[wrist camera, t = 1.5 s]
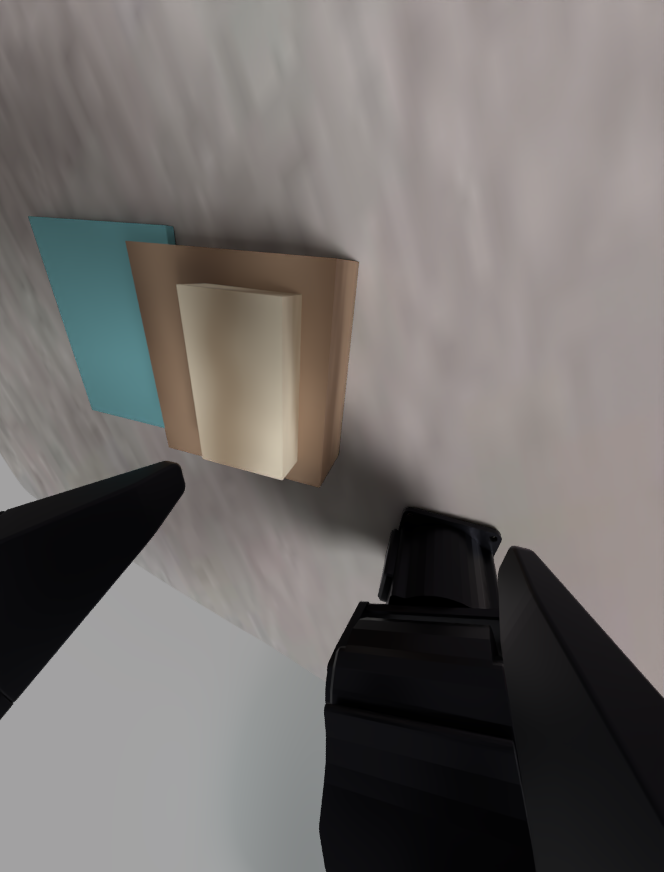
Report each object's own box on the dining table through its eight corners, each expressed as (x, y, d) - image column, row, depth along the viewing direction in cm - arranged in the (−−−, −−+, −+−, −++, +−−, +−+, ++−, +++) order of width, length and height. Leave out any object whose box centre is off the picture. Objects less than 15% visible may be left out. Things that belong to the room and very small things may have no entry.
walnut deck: (358, 262, 16) (336, 258, 13) (338, 454, 22) (319, 487, 18) (182, 247, 18) (124, 240, 15) (206, 423, 24) (168, 447, 21)
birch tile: (301, 294, 14) (282, 297, 12) (297, 461, 18) (282, 480, 16) (206, 283, 15) (176, 284, 13) (223, 442, 19) (202, 458, 18)
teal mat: (173, 226, 18) (165, 225, 18) (203, 433, 25) (198, 436, 24) (38, 217, 21) (27, 216, 20) (98, 407, 27) (92, 409, 27)
